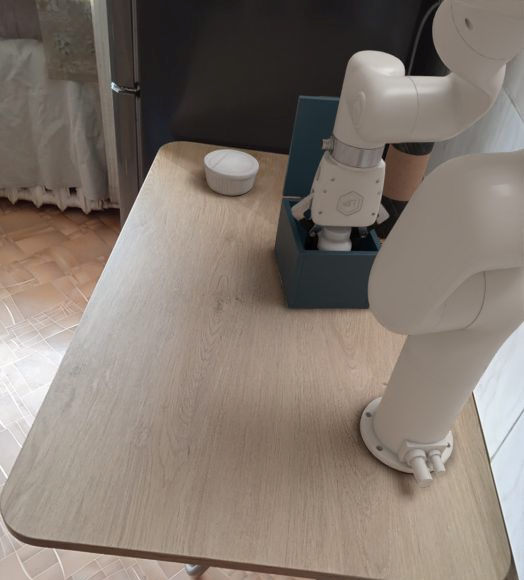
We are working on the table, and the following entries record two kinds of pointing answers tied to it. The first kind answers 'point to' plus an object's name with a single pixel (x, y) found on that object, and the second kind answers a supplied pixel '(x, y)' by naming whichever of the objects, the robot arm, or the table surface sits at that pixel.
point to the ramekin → (230, 171)
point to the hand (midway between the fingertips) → (330, 252)
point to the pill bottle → (334, 238)
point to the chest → (321, 267)
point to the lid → (308, 142)
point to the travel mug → (402, 179)
